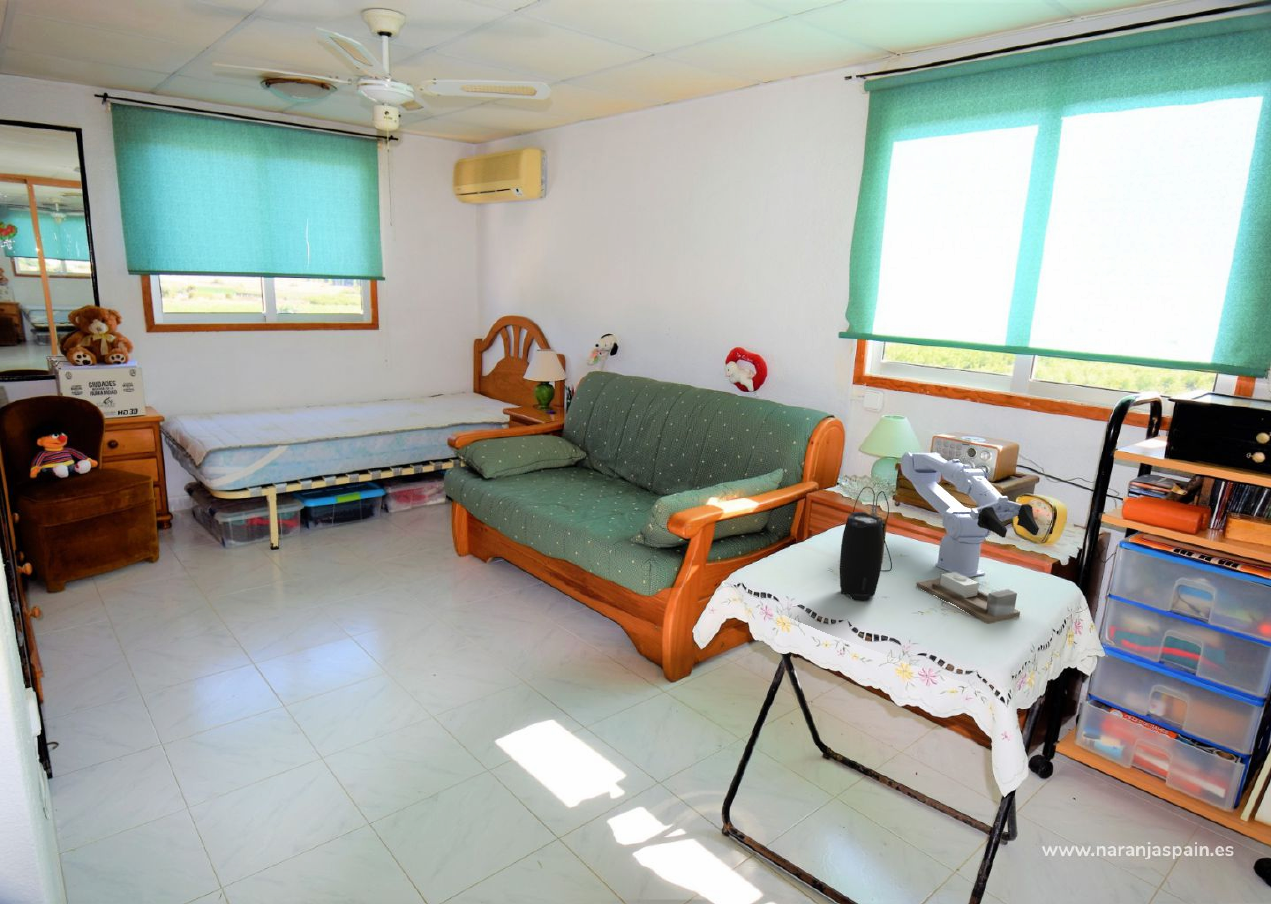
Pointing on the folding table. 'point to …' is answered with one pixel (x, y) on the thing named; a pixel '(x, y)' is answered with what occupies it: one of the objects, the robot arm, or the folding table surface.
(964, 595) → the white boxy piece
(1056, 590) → the folding table surface
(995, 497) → the robot arm
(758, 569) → the folding table surface
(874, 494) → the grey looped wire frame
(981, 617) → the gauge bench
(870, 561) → the portable speaker
